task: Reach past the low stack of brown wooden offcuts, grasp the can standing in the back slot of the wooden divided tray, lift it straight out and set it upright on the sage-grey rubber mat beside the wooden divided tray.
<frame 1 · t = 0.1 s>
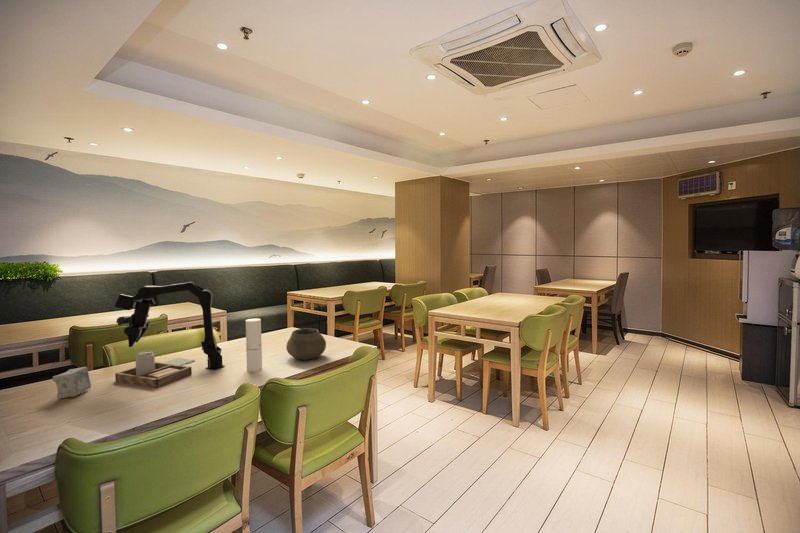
hand: (133, 344, 181), 15 cm above the table, tool pointing down, fingers open, 9 cm apart
can: (145, 377, 182), on the table
grey stone block: (73, 395, 161), on the table
wooden divided tray: (155, 378, 179), on the table
clay pot: (306, 358, 212), on the table
cylindrical container: (254, 369, 193), on the table
offcut top: (164, 375, 178), point 2 cm above the table, touching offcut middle
mat: (176, 363, 202), on the table
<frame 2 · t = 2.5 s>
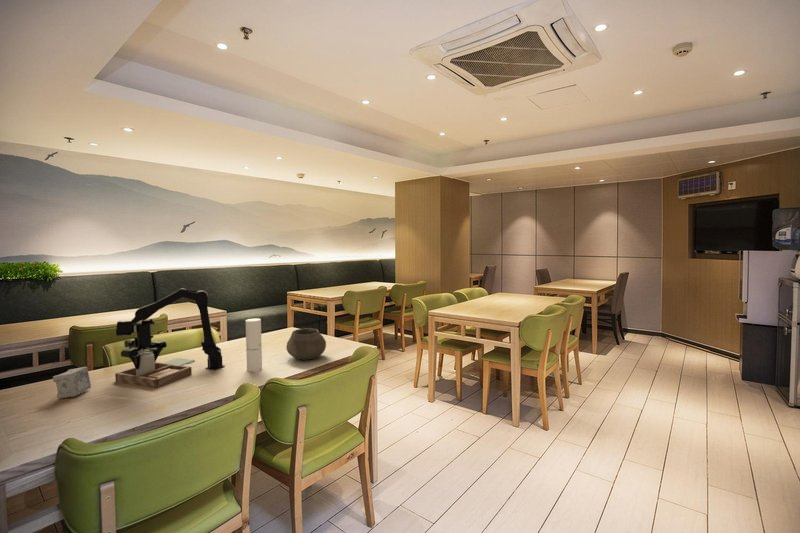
hand: (145, 366, 181), 5 cm above the table, tool pointing down, fingers closed on can, 7 cm apart
can: (145, 377, 182), on the table, touching gripper
everything else where it was.
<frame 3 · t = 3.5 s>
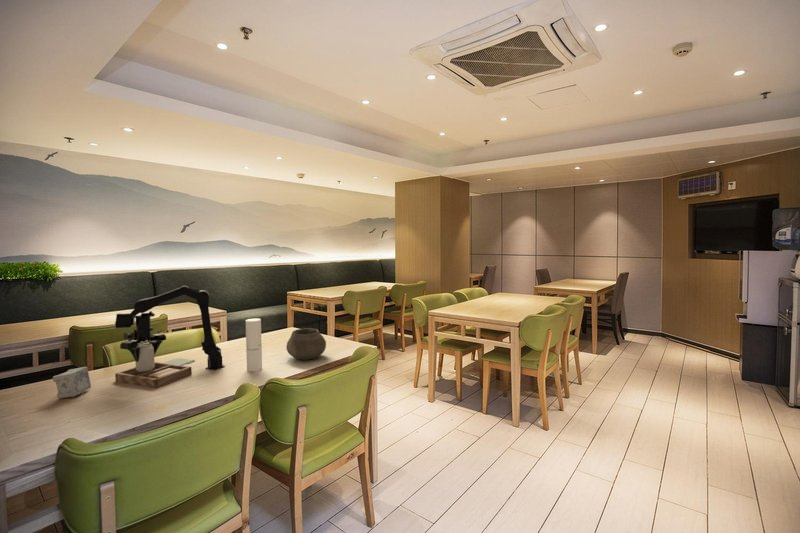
hand: (145, 359, 181), 9 cm above the table, tool pointing down, fingers closed on can, 7 cm apart
can: (145, 370, 181), point 3 cm above the table, touching gripper
everything else where it was.
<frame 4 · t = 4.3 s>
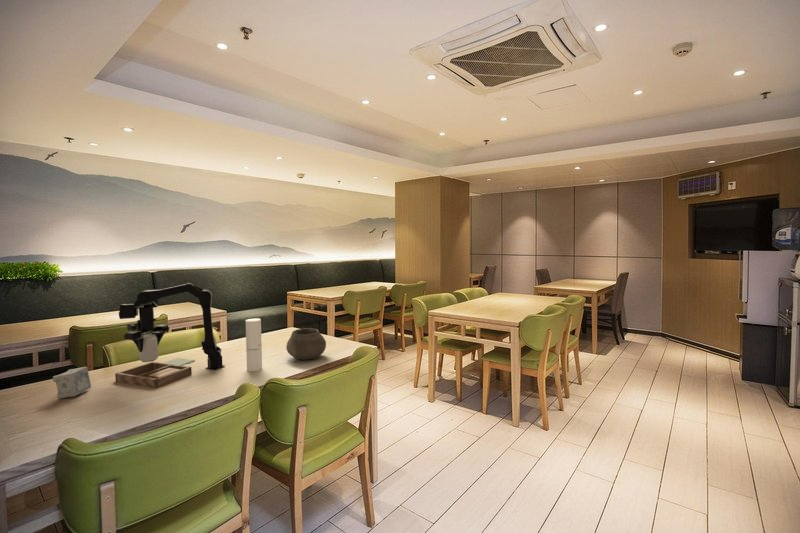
hand: (148, 349, 183), 13 cm above the table, tool pointing down, fingers closed on can, 7 cm apart
can: (149, 360, 183), point 7 cm above the table, touching gripper
everything else where it was.
when the fingers open (7 cm above the table, at t = 7.3 s): can stays where it is, resting on mat.
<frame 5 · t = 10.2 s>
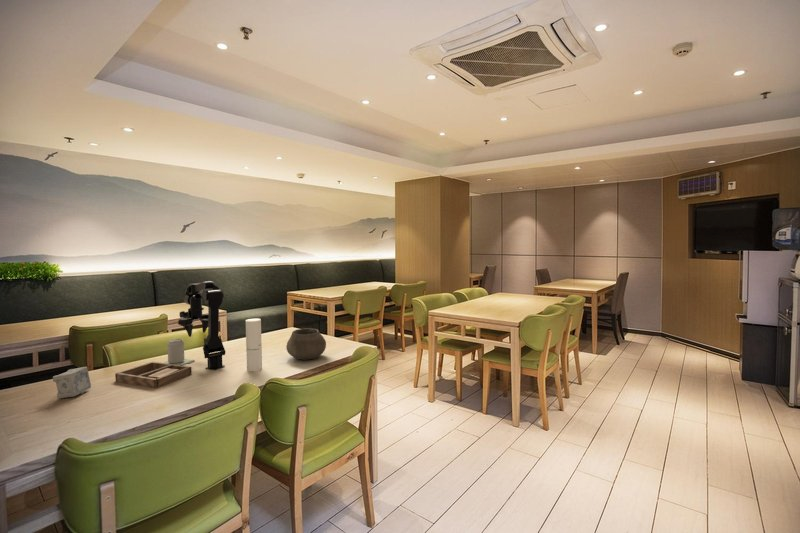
hand: (197, 334, 210), 13 cm above the table, tool pointing down, fingers open, 9 cm apart
can: (176, 362, 202), resting on mat
at the end: can inside the target area on the mat (0.0 cm from its centre), point 0.4 cm above the mat's base; can tilted 0°; offcut top moved 1.0 cm from its start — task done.
